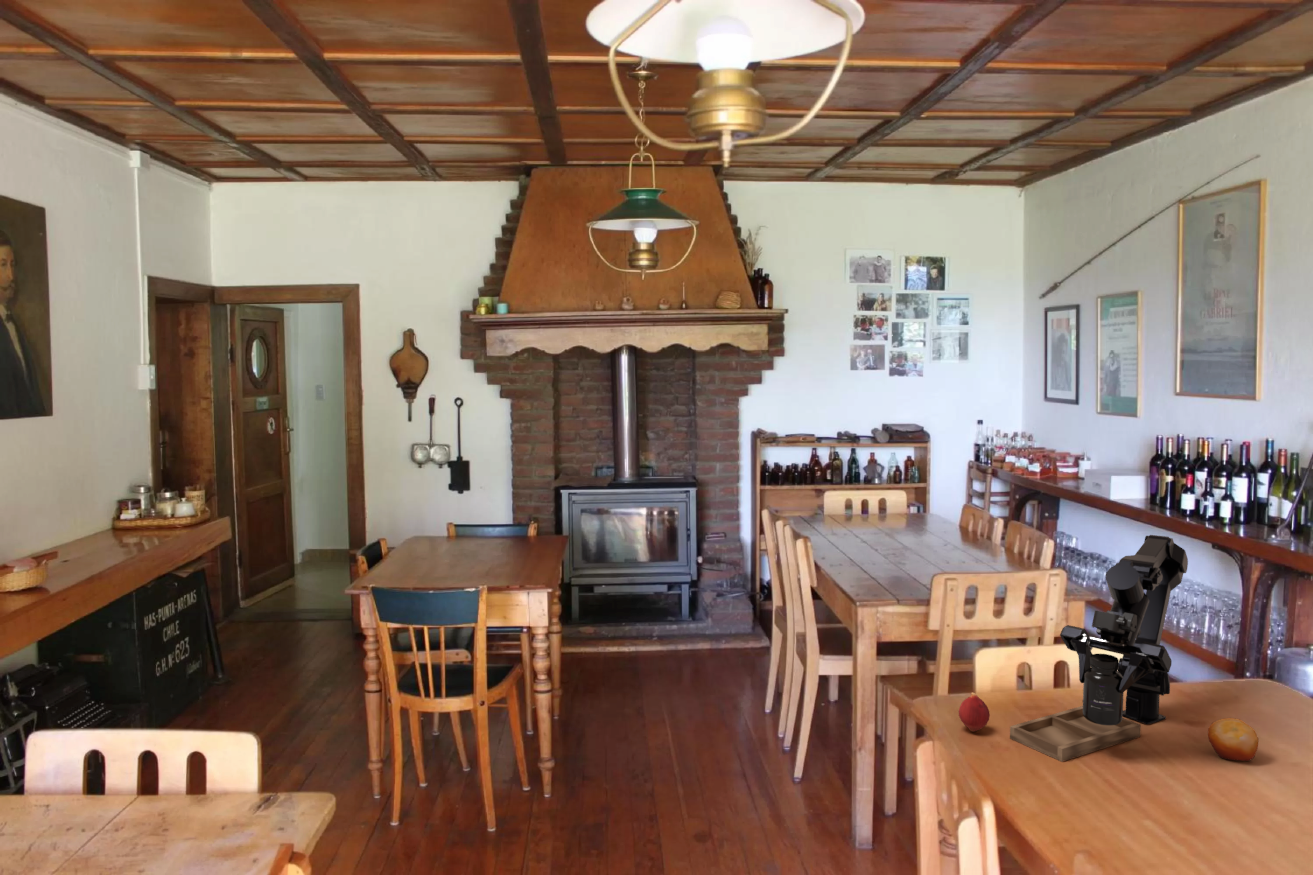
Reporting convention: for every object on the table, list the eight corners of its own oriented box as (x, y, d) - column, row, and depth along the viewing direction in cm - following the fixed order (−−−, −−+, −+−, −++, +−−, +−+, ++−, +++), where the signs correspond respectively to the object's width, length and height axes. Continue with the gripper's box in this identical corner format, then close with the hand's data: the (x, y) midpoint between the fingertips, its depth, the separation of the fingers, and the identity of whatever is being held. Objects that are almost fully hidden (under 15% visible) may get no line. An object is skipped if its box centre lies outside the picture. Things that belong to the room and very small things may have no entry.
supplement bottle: (1097, 728, 169) (1098, 665, 168) (1075, 713, 176) (1075, 652, 175) (1131, 724, 170) (1132, 661, 169) (1108, 709, 177) (1109, 649, 176)
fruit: (1252, 740, 176) (1257, 714, 172) (1256, 776, 170) (1262, 749, 166) (1203, 733, 180) (1207, 707, 175) (1206, 768, 174) (1210, 741, 169)
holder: (1086, 715, 192) (1087, 704, 192) (1140, 736, 182) (1140, 724, 182) (1009, 738, 182) (1010, 726, 181) (1061, 761, 171) (1062, 748, 171)
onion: (984, 725, 188) (985, 687, 187) (992, 737, 182) (993, 698, 182) (955, 724, 188) (956, 687, 188) (962, 736, 183) (963, 697, 182)
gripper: (1065, 584, 180) (1037, 653, 174) (1167, 603, 166) (1141, 679, 160) (1082, 614, 186) (1056, 681, 180) (1182, 635, 172) (1157, 708, 166)
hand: (1100, 686), depth 172 cm, fingers closed on supplement bottle, 7 cm apart
